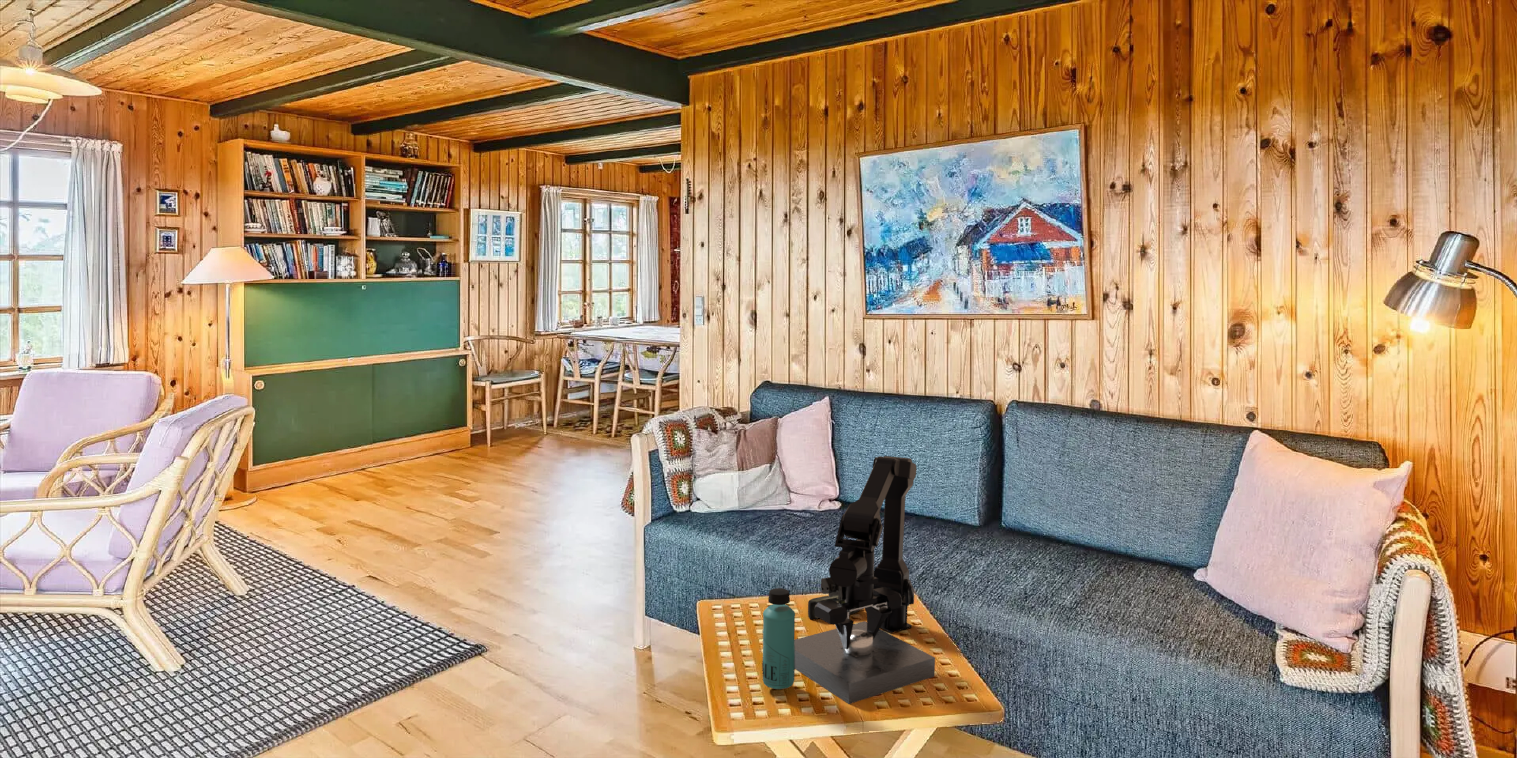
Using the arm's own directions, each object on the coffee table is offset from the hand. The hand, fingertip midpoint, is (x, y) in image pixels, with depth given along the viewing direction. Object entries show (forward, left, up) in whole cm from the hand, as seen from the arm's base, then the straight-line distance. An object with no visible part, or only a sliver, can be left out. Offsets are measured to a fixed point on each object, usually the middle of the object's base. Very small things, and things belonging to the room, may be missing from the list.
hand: (857, 645), depth 180 cm
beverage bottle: (+19, -1, -5) cm, 20 cm away
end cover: (0, 0, -5) cm, 5 cm away
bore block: (0, 0, -5) cm, 5 cm away
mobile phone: (-14, -25, -5) cm, 30 cm away
